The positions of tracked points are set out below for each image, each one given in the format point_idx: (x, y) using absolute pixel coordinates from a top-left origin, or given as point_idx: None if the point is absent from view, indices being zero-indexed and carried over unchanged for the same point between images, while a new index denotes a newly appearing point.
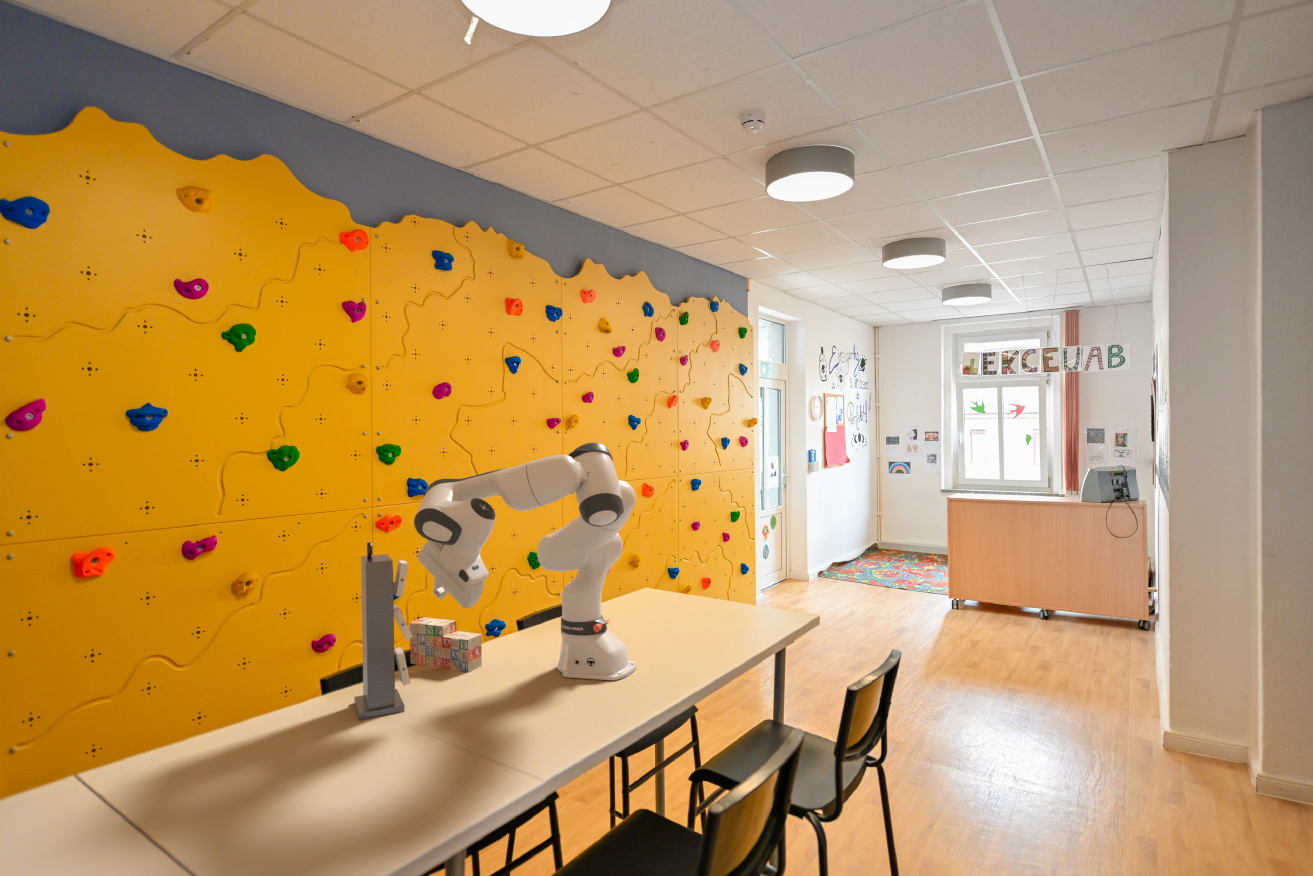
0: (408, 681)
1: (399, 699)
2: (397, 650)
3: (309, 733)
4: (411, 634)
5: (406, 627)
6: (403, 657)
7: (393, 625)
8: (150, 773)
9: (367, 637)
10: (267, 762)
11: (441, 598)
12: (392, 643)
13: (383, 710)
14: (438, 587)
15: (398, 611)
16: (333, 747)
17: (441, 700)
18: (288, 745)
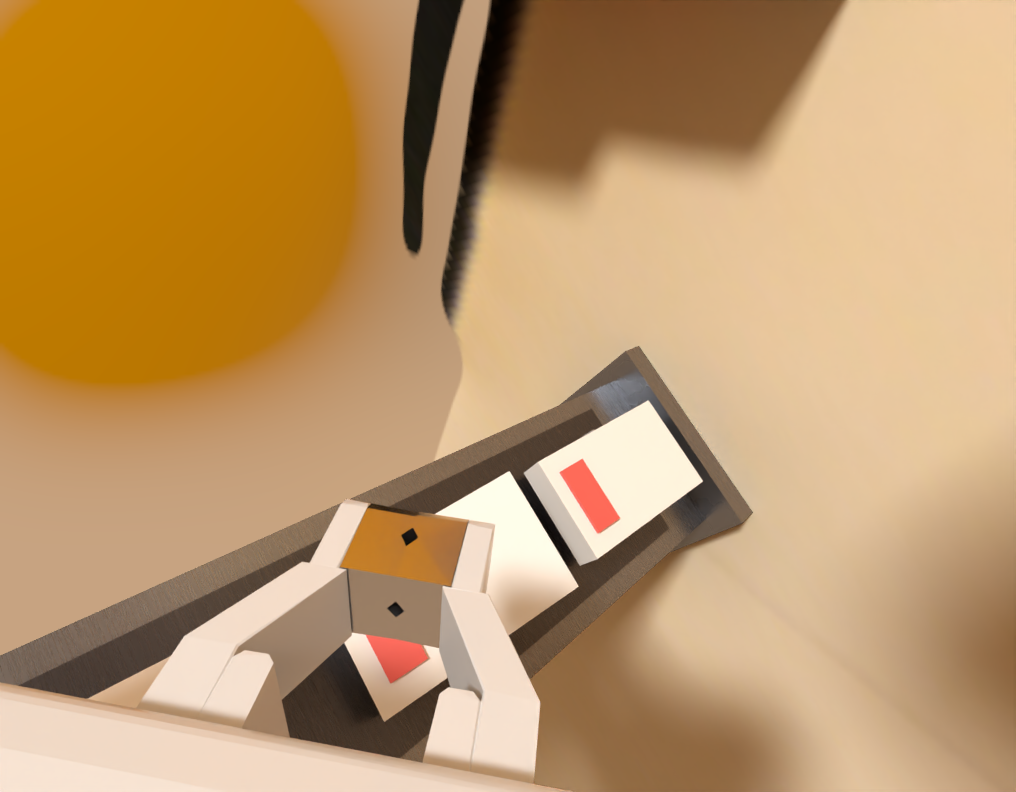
0: (691, 487)
1: (692, 463)
2: (548, 501)
3: None
4: (562, 596)
5: (511, 631)
6: (611, 548)
7: None
8: None
9: None
10: (577, 736)
11: (489, 566)
12: (540, 665)
13: (684, 544)
14: (340, 621)
15: (397, 710)
16: (672, 723)
17: (878, 408)
18: (563, 664)
